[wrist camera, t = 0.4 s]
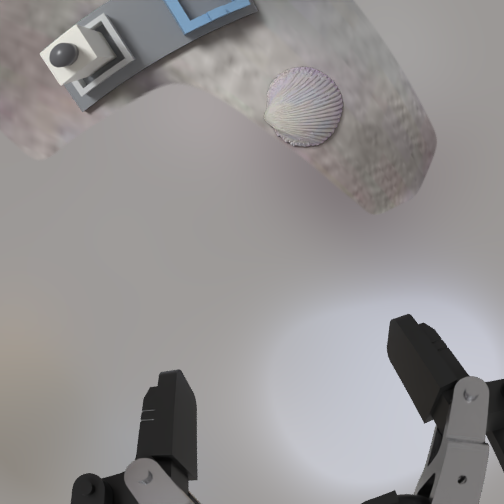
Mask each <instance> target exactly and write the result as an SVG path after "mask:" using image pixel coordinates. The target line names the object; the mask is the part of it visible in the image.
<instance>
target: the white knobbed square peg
mask: <svg viewBox="0 0 504 504" xmlns="http://www.w3.org/2000/svg"><path fill="white" fill-rule="evenodd" d="M40 55H41V57H42V58H43V60H44V61H45V63H46V64H47V66H48V67H49V69H50V70H51V72H52V73H53V75H54V76H55V78H56V79H57V81H58V82H59V84H60V85H64V84H67V83H70V82H73V81H76V80H79V79H83V78H86V77H89V76H91V75H92V74H94V73H95V72H96V71H98V70H99V69H100V68H102V67H103V66H105V65H106V64H107V63H109V62H110V61H112V60H113V59H115V58H116V57H117V56H116V54H115V53H114V51H113V50H112V48H111V47H110V45H109V43H108V42H107V40H106V39H105V37H104V36H103V34H102V33H101V32H98V31H95V30H92V29H89V28H86V27H83V26H80V25H77V24H76V25H74V26H73V27H72V28H70V29H69V30H68V31H66V32H65V33H64V34H63V35H61V36H60V37H59V38H58V39H56V40H55V41H54V42H53V43H52V44H50V45H49V46H48V47H47V48H46V49H44V50H43V51H42V52H41V53H40Z"/></svg>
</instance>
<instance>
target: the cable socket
mask: <svg viewBox="0 0 504 504" xmlns="http://www.w3.org/2000/svg"><path fill="white" fill-rule="evenodd" d="M257 11H258V9H257V8H256V6H255V4H254V2H253V0H110V1H108V2H107V3H105V4H103V5H102V6H100V7H99V8H97V9H96V10H94V11H93V12H91V13H90V14H89V15H87V16H86V17H84V18H83V19H82V20H80V21H79V22H77V23H76V24H77V25H80V26H83V27H86V28H89V29H92V30H95V31H98V32H101V33H102V34H103V36H104V37H105V39H106V40H107V42H108V43H109V45H110V47H111V48H112V50H113V51H114V53H115V54H116V56H117V57H116V58H115V59H113V60H112V61H110V62H109V63H107V64H106V65H105V66H103V67H102V68H100V69H99V70H98V71H96V72H95V73H94V74H92V75H91V76H89V77H86V78H83V79H79V80H76V81H73V82H70V83H67V84H64V86H65V87H66V89H67V90H68V92H69V93H70V95H71V96H72V98H73V99H74V100H75V102H76V103H77V105H78V106H79V108H80V109H81V111H82V112H83V111H85V110H86V109H87V108H89V107H90V106H91V105H93V104H94V103H95V102H96V101H98V100H99V99H100V98H102V97H103V96H105V95H106V94H107V93H109V92H110V91H111V90H113V89H114V88H116V87H117V86H119V85H120V84H122V83H123V82H124V81H126V80H127V79H129V78H130V77H132V76H133V75H135V74H137V73H138V72H140V71H141V70H143V69H144V68H146V67H148V66H149V65H151V64H152V63H154V62H156V61H157V60H159V59H161V58H163V57H164V56H166V55H168V54H169V53H171V52H173V51H175V50H177V49H178V48H180V47H182V46H184V45H186V44H188V43H190V42H191V41H193V40H195V39H197V38H199V37H201V36H203V35H205V34H207V33H209V32H211V31H213V30H216V29H218V28H220V27H222V26H224V25H226V24H229V23H231V22H233V21H235V20H238V19H240V18H243V17H245V16H247V15H250V14H252V13H255V12H257ZM76 24H75V25H76ZM73 26H74V25H73ZM73 26H72V27H73ZM72 27H71V28H72ZM69 29H70V28H69ZM69 29H68V30H69ZM68 30H67V31H68ZM64 33H65V32H64ZM64 33H63V34H64ZM63 34H62V35H63ZM60 36H61V35H60ZM60 36H59V37H60ZM59 37H58V38H59ZM58 38H57V39H58ZM54 41H55V40H54ZM54 41H53V42H54ZM53 42H52V43H53ZM52 43H51V44H52ZM49 45H50V44H49ZM49 45H48V46H49ZM48 46H47V47H48ZM47 47H46V48H47ZM46 48H45V49H46ZM42 51H43V50H42Z"/></svg>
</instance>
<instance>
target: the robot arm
mask: <svg viewBox="0 0 504 504" xmlns="http://www.w3.org/2000/svg"><path fill="white" fill-rule="evenodd" d="M387 353H388V357H389V359H390V362H391V363H392V365H393V366H394V369H395V370H396V372H397V374H398V376H399V377H400V379H401V381H402V383H403V385H404V386H405V388H406V390H407V392H408V394H409V395H410V397H411V399H412V401H413V403H414V405H415V407H416V408H417V410H418V412H419V414H420V416H421V418H422V420H423V421H424V423H427V422H429V421H431V420H434V421H435V423H436V427H435V430H434V434H433V439H432V443H431V446H430V451H429V454H428V458H427V461H426V464H425V468H424V470H423V473H422V475H421V477H420V479H419V481H418V484H417V486H416V489H415V492H414V495H410V494H405V495H397V494H396V492H395V491H392V492H389V493H387V494H384V495H382V496H379V497H376V498H373V499H370V500H368V501H365V502H363V503H362V504H479V500H480V496H481V492H482V487H483V482H484V478H485V472H486V467H487V462H488V456H489V445H488V443H485V434H486V436H487V438H488V440H489V442H490V444H491V446H492V447H493V450H494V452H495V454H496V456H497V458H498V460H499V463H500V465H501V467H502V469H503V471H504V379H501V380H496V381H491V382H484V381H483V380H482V379H480V378H478V377H473V376H469V375H468V374H467V373H466V371H465V370H464V368H463V367H462V366H461V364H460V363H459V361H457V359H456V357H455V356H454V355H453V354H452V352H451V351H450V349H449V348H447V345H446V344H445V343H444V341H443V340H441V337H440V336H439V335H438V333H437V332H436V331H435V330H434V329H433V328H431V327H430V326H428V325H427V324H425V323H421V324H418V323H417V322H416V321H415V319H414V318H413V317H412V316H411V315H410V314H407V315H404V316H401V317H398V318H395V319H392V320H391V321H390V326H389V335H388V343H387ZM196 406H197V405H196V399H195V396H194V393H193V391H192V389H191V388H190V386H189V384H188V382H187V380H186V379H185V377H184V375H183V373H182V371H181V370H173V371H166V372H161V373H160V374H159V380H158V386H157V387H150V389H149V390H148V392H147V394H146V395H145V397H144V400H143V407H142V411H143V412H142V415H141V422H140V430H139V437H138V445H137V454H136V458H135V461H133V462H132V463H131V464H129V465H128V467H127V468H126V470H125V472H122V473H120V474H116V475H113V476H109V477H106V478H102V479H101V478H100V477H99V476H97V475H95V474H91V473H88V474H83V475H81V476H80V477H78V478H77V479H76V481H75V483H74V485H73V489H72V498H71V504H201V503H200V502H199V501H198V500H197V499H196V498H195V497H194V496H193V495H192V494H191V493H190V491H189V490H188V481H189V480H197V407H196Z"/></svg>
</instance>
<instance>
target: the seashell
mask: <svg viewBox="0 0 504 504" xmlns="http://www.w3.org/2000/svg"><path fill="white" fill-rule="evenodd" d="M334 84H335V82H334V81H331V78H329V77H328V76H327V75H325V74H323V72H320V71H319V70H316V69H313V68H309V67H297V68H292V69H289V70H287V71H285V72H282V73H281V74H280V75H278V76H277V78H275V79H274V80H273V82H272V83H271V84H270V88H269V90H268V92H267V94H268V95H267V97H268V99H267V110H266V112H265V114H264V119H265V121H266V122H267V123H268V124H269V125H271V126H272V127H273V128H274V129H275V132H276V134H277V136H280V137H281V138H282V139H283V140H284V141H285V142H286V143H287V142H289V143H291V145H293V146H294V145H297V146H303V147H305V146H310V145H312V146H314V145H317V146H318V145H319V144H320V143H323V141H325V140H327V138H328V137H329V138H330V136H331V132H332V133H334V130H335V127H337V123H338V122H339V121H340V119H339V118H340V117H341V112H342V107H343V104H342V102H343V101H342V98H341V94H340V91H339V89H337V88H338V87H337V85H334Z"/></svg>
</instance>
